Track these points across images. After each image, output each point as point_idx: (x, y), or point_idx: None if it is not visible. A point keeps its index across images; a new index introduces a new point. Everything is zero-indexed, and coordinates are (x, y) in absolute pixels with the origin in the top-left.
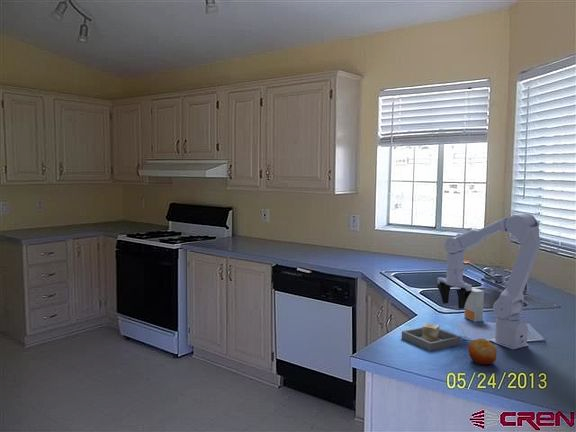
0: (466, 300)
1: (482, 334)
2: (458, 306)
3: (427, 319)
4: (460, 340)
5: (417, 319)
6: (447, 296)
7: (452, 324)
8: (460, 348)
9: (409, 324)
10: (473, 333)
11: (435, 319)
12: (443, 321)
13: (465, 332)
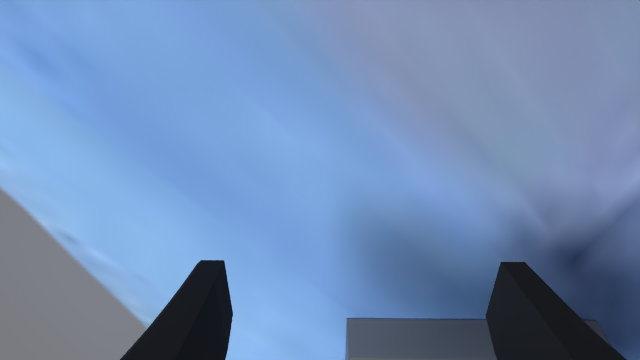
0: (616, 351)
1: (628, 40)
2: (492, 342)
3: (67, 148)
4: (608, 341)
5: (52, 214)
6: (196, 352)
7: (270, 58)
8: (626, 353)
9: (155, 318)
10: (552, 92)
11: (80, 86)
12: (159, 64)
13: (490, 131)
